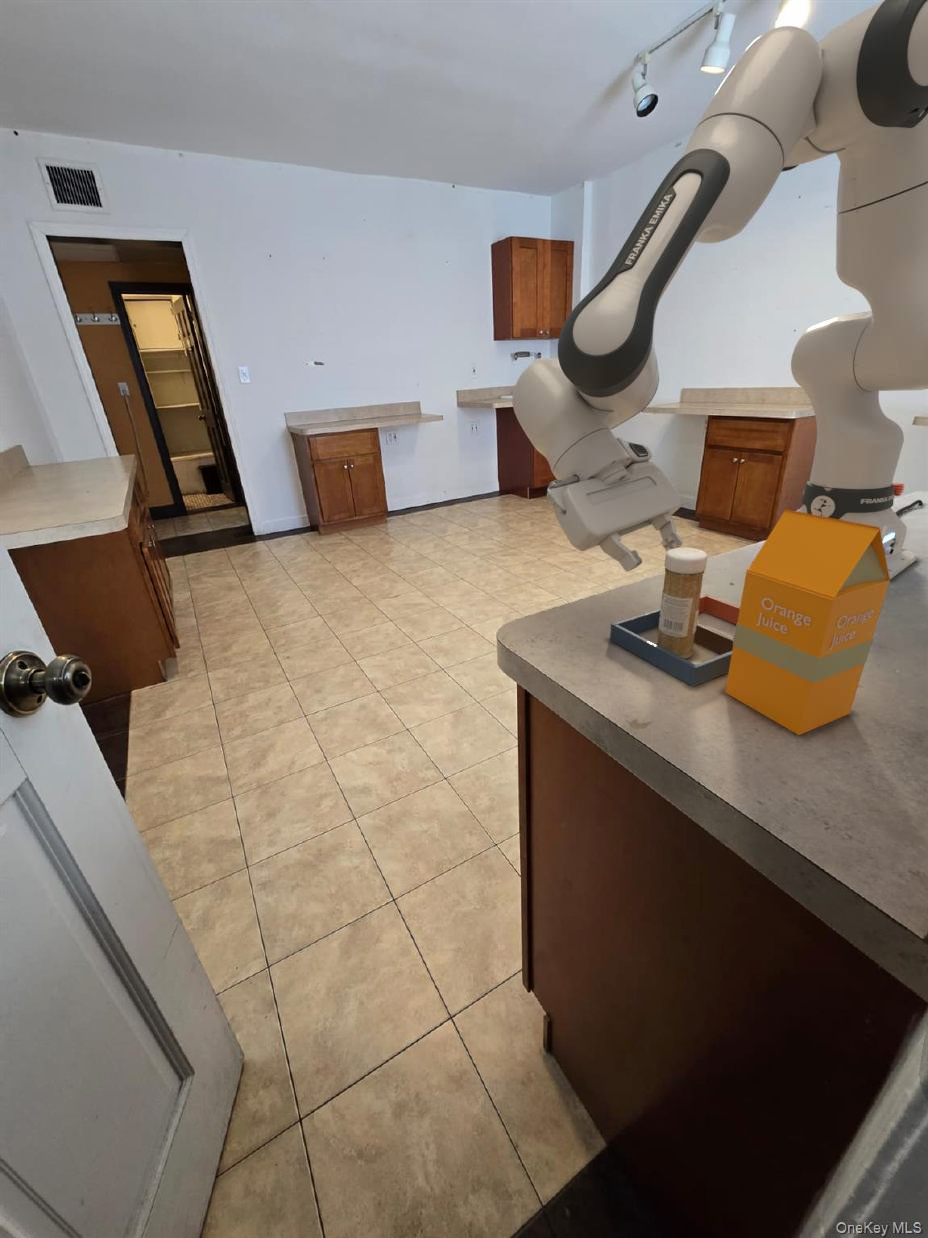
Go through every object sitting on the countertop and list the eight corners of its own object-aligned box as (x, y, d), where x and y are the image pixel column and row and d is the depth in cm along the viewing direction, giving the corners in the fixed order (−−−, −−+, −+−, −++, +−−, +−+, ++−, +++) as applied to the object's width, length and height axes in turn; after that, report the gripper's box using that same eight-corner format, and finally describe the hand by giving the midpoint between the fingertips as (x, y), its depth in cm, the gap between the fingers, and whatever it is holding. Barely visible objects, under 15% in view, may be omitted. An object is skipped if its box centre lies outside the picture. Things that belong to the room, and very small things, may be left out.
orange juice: (798, 736, 50) (850, 535, 41) (723, 692, 57) (754, 514, 49) (851, 713, 52) (910, 520, 44) (773, 674, 60) (810, 502, 51)
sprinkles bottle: (700, 653, 65) (716, 552, 59) (677, 664, 63) (691, 561, 57) (669, 640, 69) (682, 543, 63) (647, 650, 67) (657, 551, 61)
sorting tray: (703, 609, 77) (705, 594, 76) (794, 646, 65) (798, 628, 64) (609, 640, 70) (610, 623, 69) (693, 687, 58) (695, 668, 57)
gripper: (555, 466, 58) (625, 565, 55) (653, 443, 70) (715, 525, 67) (527, 501, 63) (589, 594, 60) (623, 474, 75) (679, 551, 72)
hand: (656, 557), depth 63 cm, fingers open, 8 cm apart
